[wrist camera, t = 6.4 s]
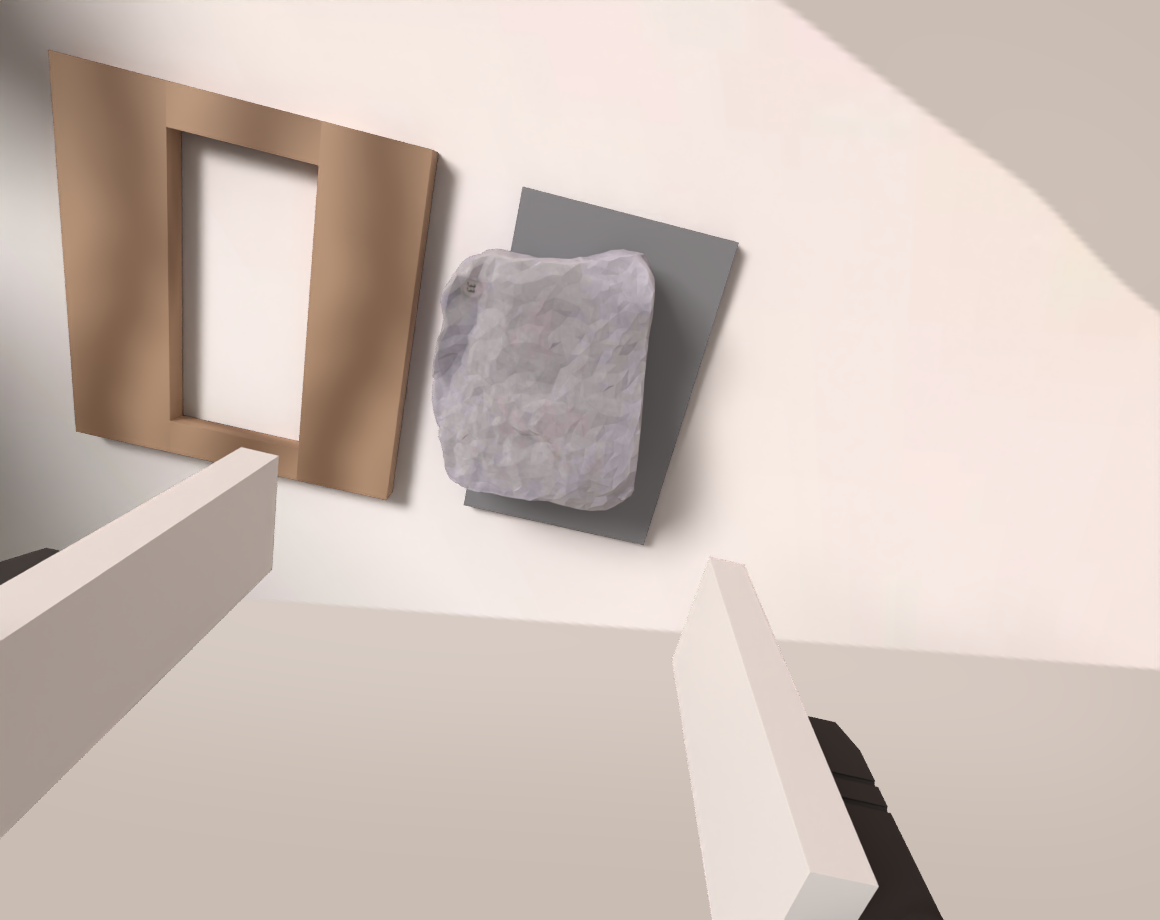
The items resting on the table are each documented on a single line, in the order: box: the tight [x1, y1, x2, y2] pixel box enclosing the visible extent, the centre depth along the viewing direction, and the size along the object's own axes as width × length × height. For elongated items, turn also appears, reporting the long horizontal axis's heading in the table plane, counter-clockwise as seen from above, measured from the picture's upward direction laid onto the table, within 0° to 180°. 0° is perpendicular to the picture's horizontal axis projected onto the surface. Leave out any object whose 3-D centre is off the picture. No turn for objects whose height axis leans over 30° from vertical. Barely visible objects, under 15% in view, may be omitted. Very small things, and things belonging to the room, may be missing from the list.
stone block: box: [432, 249, 655, 511], centre depth 28 cm, size 12×5×10 cm
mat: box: [464, 187, 738, 545], centre depth 30 cm, size 10×16×1 cm, turn 167°
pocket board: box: [48, 50, 438, 500], centre depth 28 cm, size 16×17×1 cm
